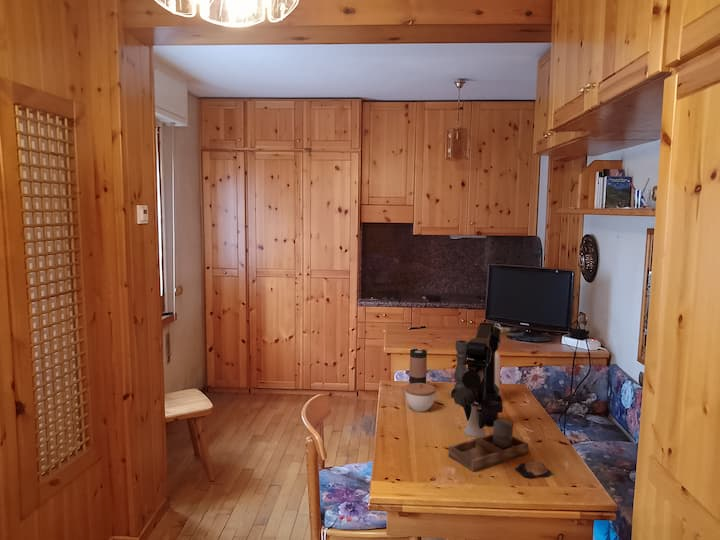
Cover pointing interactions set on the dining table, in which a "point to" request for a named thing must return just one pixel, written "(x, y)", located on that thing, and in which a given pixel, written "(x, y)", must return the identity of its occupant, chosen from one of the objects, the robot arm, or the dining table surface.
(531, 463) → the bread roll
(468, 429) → the flask
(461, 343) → the candle holder
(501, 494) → the dining table surface
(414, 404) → the lidded bowl
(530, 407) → the dining table surface
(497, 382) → the bottle
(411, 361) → the travel mug
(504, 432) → the cruet stand
